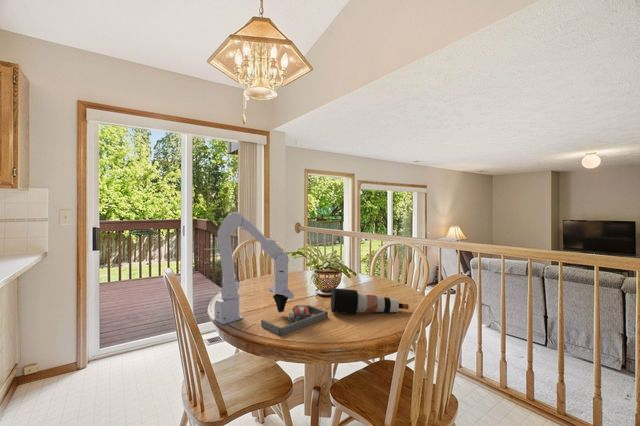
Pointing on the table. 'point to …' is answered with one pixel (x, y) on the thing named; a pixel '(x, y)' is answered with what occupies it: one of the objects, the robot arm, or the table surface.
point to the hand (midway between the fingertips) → (280, 311)
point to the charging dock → (297, 325)
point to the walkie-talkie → (299, 313)
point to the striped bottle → (362, 302)
